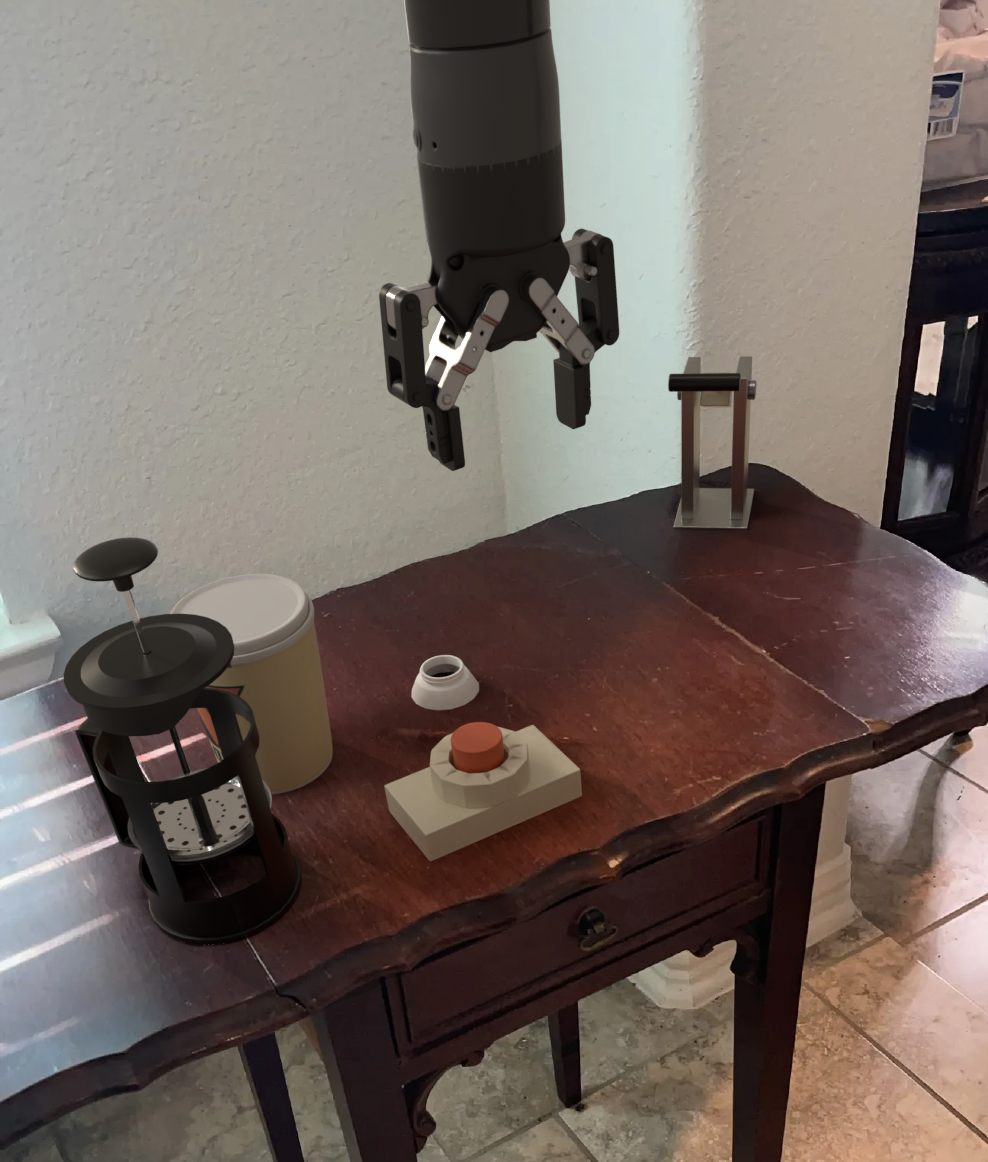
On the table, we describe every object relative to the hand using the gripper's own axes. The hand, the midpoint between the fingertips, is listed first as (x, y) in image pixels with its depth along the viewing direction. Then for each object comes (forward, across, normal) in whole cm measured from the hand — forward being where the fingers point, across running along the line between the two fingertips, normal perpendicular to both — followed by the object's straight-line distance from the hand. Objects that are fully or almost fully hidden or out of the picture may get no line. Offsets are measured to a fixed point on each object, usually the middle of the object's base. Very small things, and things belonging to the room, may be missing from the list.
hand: (512, 444), depth 76 cm
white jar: (+20, -4, +5) cm, 21 cm away
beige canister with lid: (+20, -17, +6) cm, 27 cm away
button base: (+19, -8, -7) cm, 22 cm away
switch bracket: (+19, +27, +13) cm, 35 cm away
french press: (+20, -26, -4) cm, 32 cm away
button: (+16, -8, -7) cm, 19 cm away
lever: (+7, +23, +10) cm, 26 cm away
